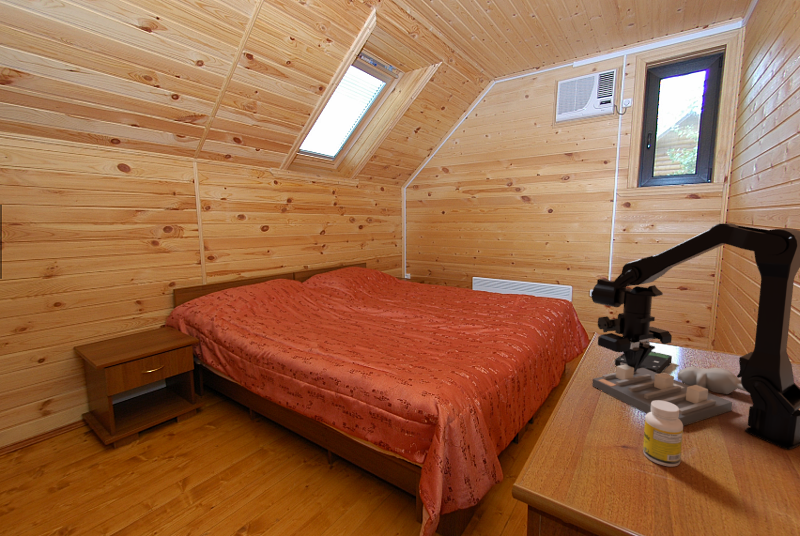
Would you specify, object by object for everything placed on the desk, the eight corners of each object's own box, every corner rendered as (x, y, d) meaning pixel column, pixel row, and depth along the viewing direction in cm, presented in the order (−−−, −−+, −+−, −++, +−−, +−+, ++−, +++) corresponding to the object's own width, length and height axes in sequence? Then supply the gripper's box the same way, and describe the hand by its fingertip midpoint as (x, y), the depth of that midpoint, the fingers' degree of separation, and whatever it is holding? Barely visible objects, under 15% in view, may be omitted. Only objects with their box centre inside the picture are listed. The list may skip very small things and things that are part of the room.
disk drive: (657, 380, 96) (671, 364, 106) (657, 370, 96) (672, 355, 106) (614, 368, 104) (631, 354, 114) (614, 359, 104) (631, 346, 113)
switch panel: (731, 410, 79) (732, 398, 79) (676, 428, 73) (677, 415, 73) (642, 374, 98) (643, 364, 98) (592, 386, 92) (593, 375, 91)
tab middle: (672, 388, 85) (674, 376, 85) (664, 390, 84) (665, 378, 84) (662, 384, 88) (663, 372, 87) (654, 386, 87) (654, 374, 86)
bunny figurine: (682, 360, 98) (760, 370, 87) (683, 379, 98) (761, 391, 87) (674, 370, 91) (758, 382, 80) (676, 390, 91) (760, 405, 80)
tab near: (706, 402, 79) (708, 389, 79) (697, 405, 78) (699, 391, 78) (694, 397, 81) (695, 384, 81) (685, 399, 80) (687, 387, 80)
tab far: (633, 379, 91) (634, 367, 90) (624, 381, 90) (625, 369, 89) (624, 375, 93) (625, 364, 92) (615, 377, 92) (616, 366, 91)
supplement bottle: (644, 444, 68) (648, 395, 67) (680, 456, 65) (685, 404, 63) (640, 459, 64) (644, 406, 63) (679, 472, 61) (684, 417, 59)
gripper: (633, 301, 101) (629, 355, 103) (581, 307, 94) (578, 365, 96) (675, 310, 90) (670, 370, 92) (620, 318, 84) (616, 382, 86)
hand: (632, 371), depth 92 cm, fingers closed
